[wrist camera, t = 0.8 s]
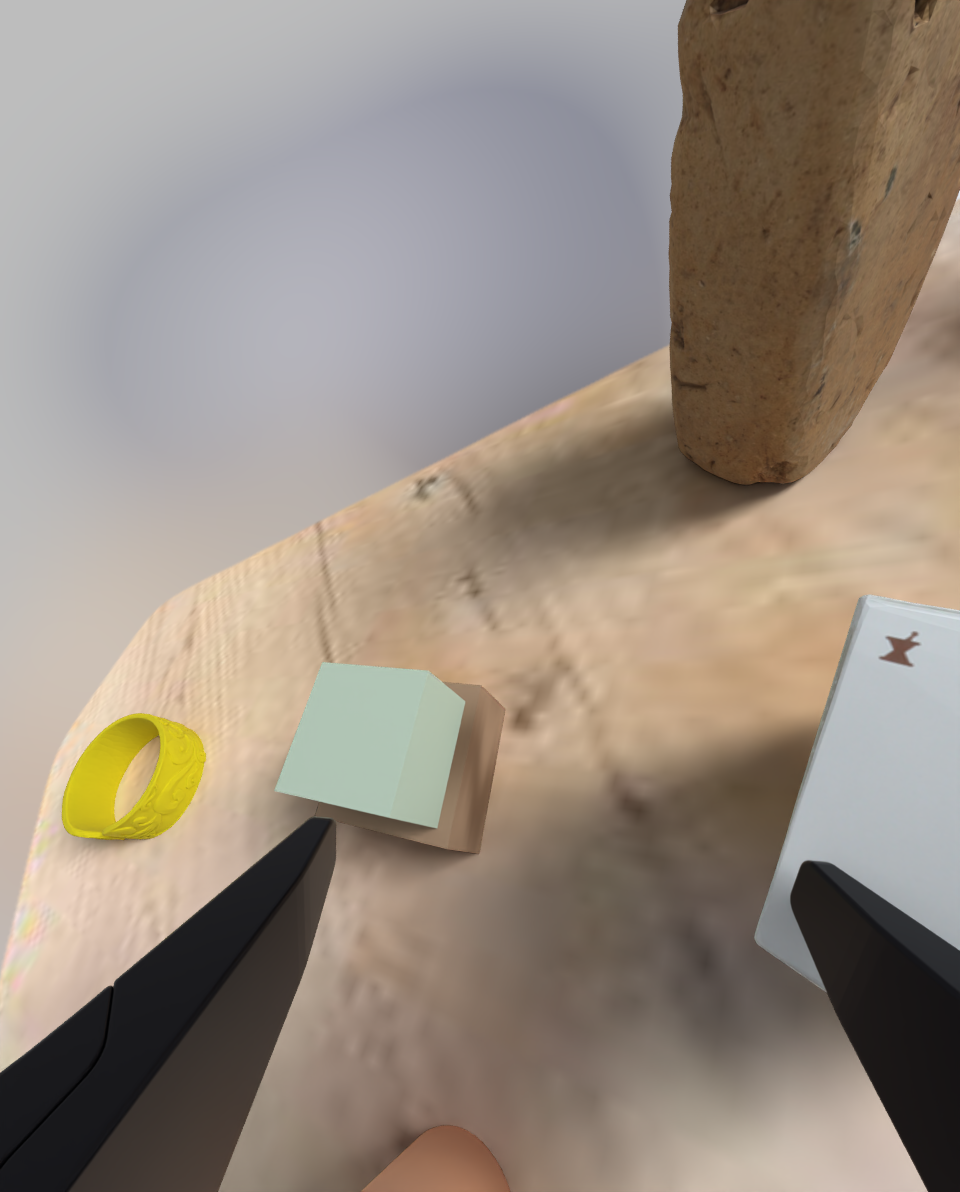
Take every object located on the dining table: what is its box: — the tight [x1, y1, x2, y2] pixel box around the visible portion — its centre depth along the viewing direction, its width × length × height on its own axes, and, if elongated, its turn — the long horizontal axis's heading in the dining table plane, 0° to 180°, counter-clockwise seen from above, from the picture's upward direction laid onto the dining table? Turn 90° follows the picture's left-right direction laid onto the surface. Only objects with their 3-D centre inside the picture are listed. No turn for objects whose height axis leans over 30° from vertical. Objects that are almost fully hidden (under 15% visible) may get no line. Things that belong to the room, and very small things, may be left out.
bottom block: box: [315, 682, 505, 854], centre depth 24 cm, size 7×7×4 cm
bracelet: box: [62, 713, 206, 840], centre depth 30 cm, size 7×8×3 cm
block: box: [669, 0, 960, 485], centre depth 20 cm, size 11×8×20 cm
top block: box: [274, 662, 465, 828], centre depth 21 cm, size 6×6×4 cm
